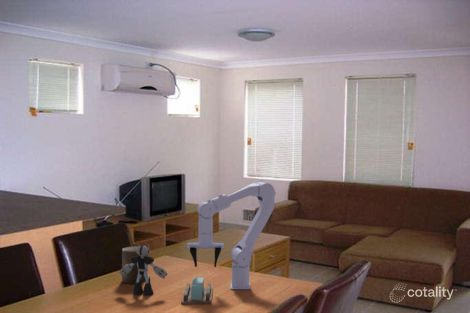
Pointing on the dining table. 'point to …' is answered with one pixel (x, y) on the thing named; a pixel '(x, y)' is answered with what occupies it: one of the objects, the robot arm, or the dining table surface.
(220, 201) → the robot arm
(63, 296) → the dining table surface
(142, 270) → the robot
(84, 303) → the dining table surface
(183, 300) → the cradle
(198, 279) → the tall teal pillar block
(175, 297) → the dining table surface
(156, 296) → the dining table surface
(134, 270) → the pillar candle
